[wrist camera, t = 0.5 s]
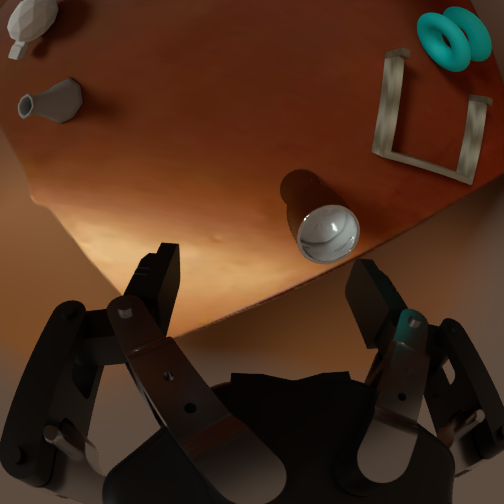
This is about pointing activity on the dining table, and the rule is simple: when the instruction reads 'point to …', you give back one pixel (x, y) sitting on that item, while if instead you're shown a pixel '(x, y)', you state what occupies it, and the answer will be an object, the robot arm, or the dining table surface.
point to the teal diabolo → (454, 38)
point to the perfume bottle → (30, 23)
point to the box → (389, 119)
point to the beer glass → (318, 218)
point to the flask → (53, 102)
